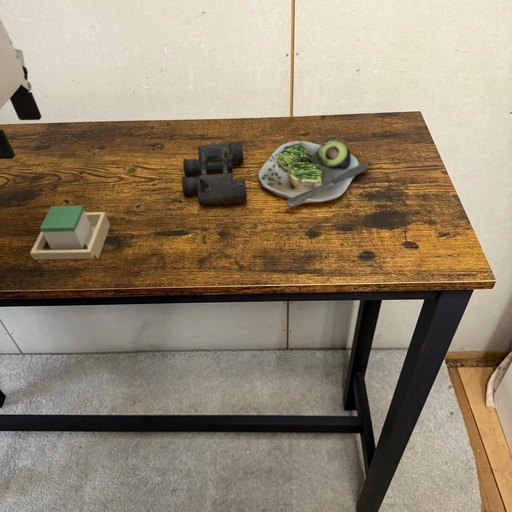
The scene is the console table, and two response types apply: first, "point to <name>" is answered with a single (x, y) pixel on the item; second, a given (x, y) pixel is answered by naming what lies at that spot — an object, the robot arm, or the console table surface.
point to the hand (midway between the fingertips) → (17, 137)
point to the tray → (94, 248)
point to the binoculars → (219, 185)
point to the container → (67, 227)
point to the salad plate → (310, 171)
